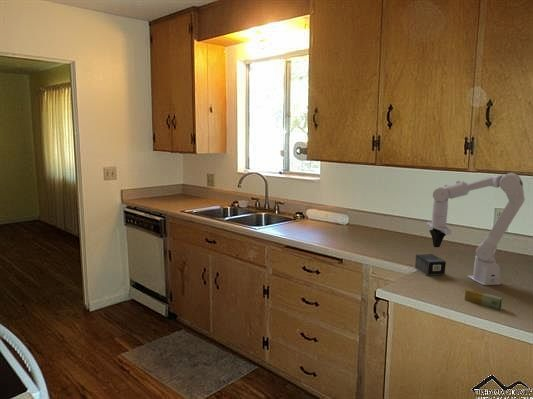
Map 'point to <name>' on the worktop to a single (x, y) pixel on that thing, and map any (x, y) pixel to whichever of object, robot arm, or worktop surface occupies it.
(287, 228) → the worktop surface
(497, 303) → the medication box
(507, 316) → the worktop surface
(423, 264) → the box
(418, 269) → the gray flat panel
